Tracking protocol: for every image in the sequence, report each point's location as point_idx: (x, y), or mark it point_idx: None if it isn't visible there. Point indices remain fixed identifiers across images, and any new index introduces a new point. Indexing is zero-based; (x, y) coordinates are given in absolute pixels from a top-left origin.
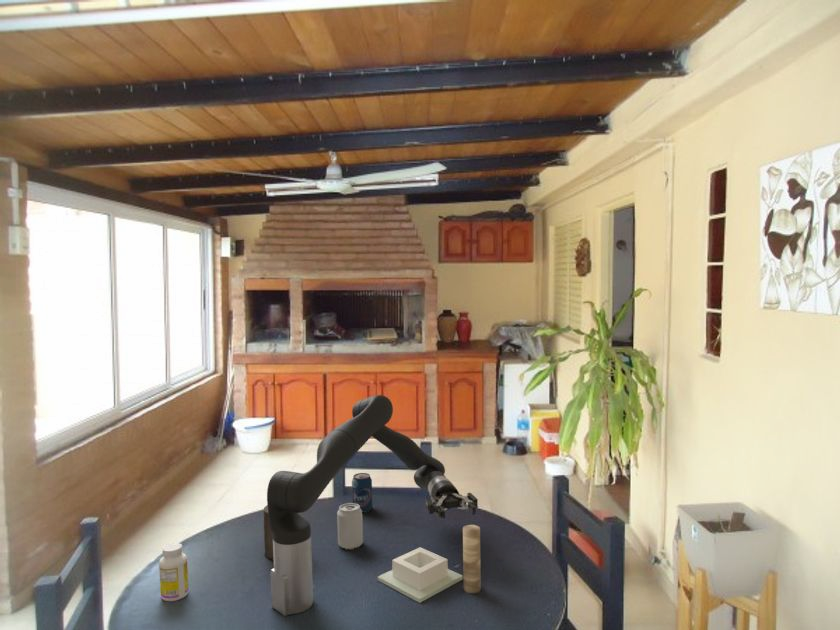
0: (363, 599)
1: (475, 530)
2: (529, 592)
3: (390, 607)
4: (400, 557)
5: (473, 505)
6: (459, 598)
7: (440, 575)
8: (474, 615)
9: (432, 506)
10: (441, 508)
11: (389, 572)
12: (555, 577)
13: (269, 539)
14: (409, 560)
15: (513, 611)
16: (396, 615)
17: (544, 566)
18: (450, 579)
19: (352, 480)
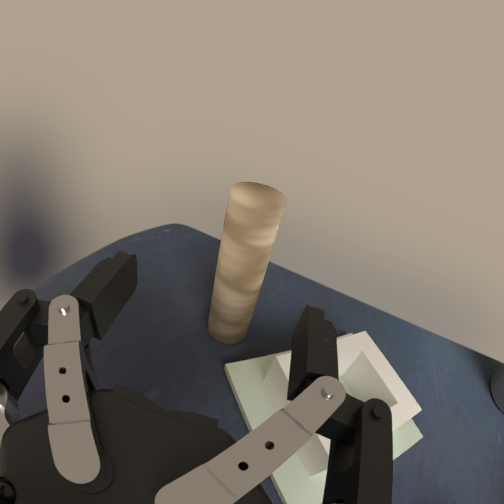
0: (436, 382)
1: (254, 184)
2: (139, 267)
3: (396, 347)
4: (402, 417)
5: (90, 280)
6: (270, 317)
7: None
8: (269, 274)
9: (366, 401)
10: (319, 336)
11: (399, 449)
12: (63, 269)
13: None
14: None
15: (205, 253)
16: (387, 325)
17: None
18: (264, 364)
19: None
